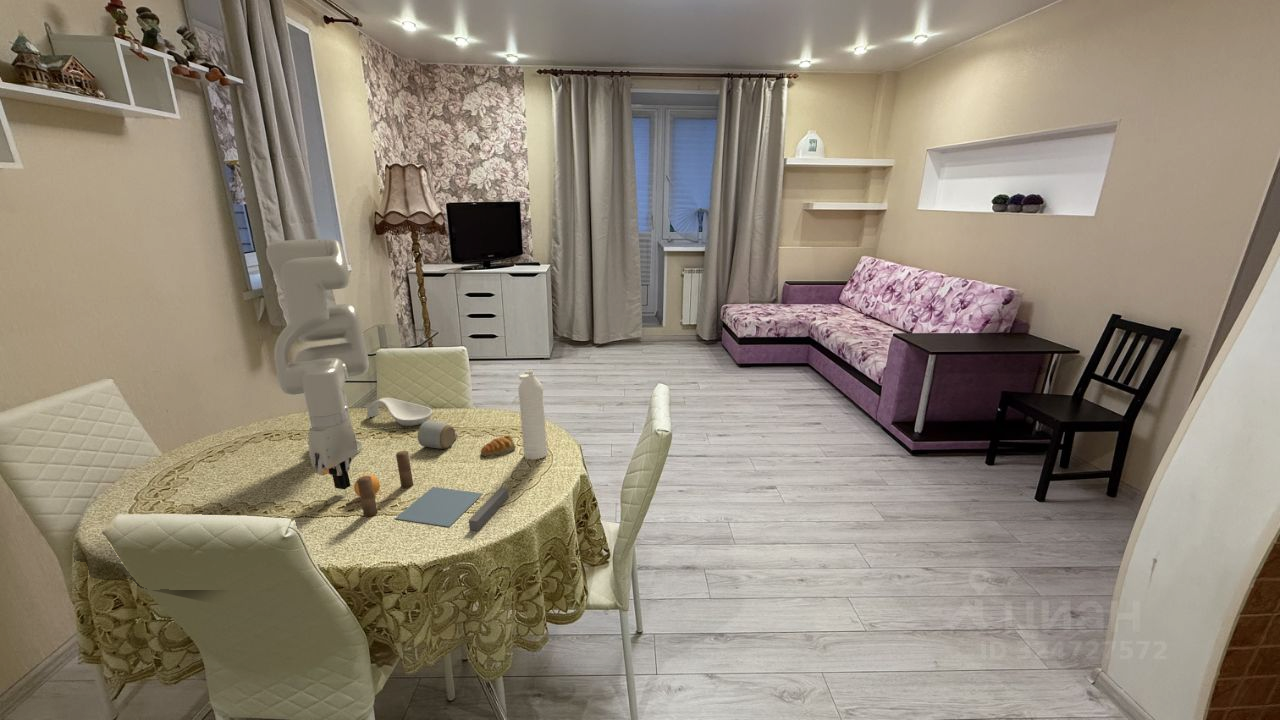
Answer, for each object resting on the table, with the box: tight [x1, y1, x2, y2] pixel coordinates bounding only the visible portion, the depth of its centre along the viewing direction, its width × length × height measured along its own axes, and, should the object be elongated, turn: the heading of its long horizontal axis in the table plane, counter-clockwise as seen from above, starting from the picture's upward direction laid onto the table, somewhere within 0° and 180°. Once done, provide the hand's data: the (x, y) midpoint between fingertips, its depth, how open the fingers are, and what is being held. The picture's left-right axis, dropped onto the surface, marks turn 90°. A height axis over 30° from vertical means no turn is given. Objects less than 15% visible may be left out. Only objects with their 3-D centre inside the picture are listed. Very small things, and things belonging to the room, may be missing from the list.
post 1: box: [356, 476, 378, 518], centre depth 120 cm, size 3×3×9 cm
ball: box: [353, 474, 381, 498], centre depth 128 cm, size 6×6×6 cm
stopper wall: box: [468, 487, 510, 532], centre depth 120 cm, size 2×14×2 cm, turn 166°
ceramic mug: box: [417, 419, 458, 450], centre depth 155 cm, size 11×8×8 cm
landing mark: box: [394, 486, 484, 528], centre depth 124 cm, size 14×14×1 cm
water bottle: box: [517, 369, 548, 461], centre depth 144 cm, size 9×6×25 cm
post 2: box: [395, 450, 414, 489], centre depth 132 cm, size 3×3×9 cm
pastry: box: [480, 434, 517, 458], centre depth 151 cm, size 9×7×4 cm
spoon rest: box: [366, 397, 434, 427], centre depth 173 cm, size 24×12×7 cm, turn 71°
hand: (342, 487), depth 130 cm, fingers closed
